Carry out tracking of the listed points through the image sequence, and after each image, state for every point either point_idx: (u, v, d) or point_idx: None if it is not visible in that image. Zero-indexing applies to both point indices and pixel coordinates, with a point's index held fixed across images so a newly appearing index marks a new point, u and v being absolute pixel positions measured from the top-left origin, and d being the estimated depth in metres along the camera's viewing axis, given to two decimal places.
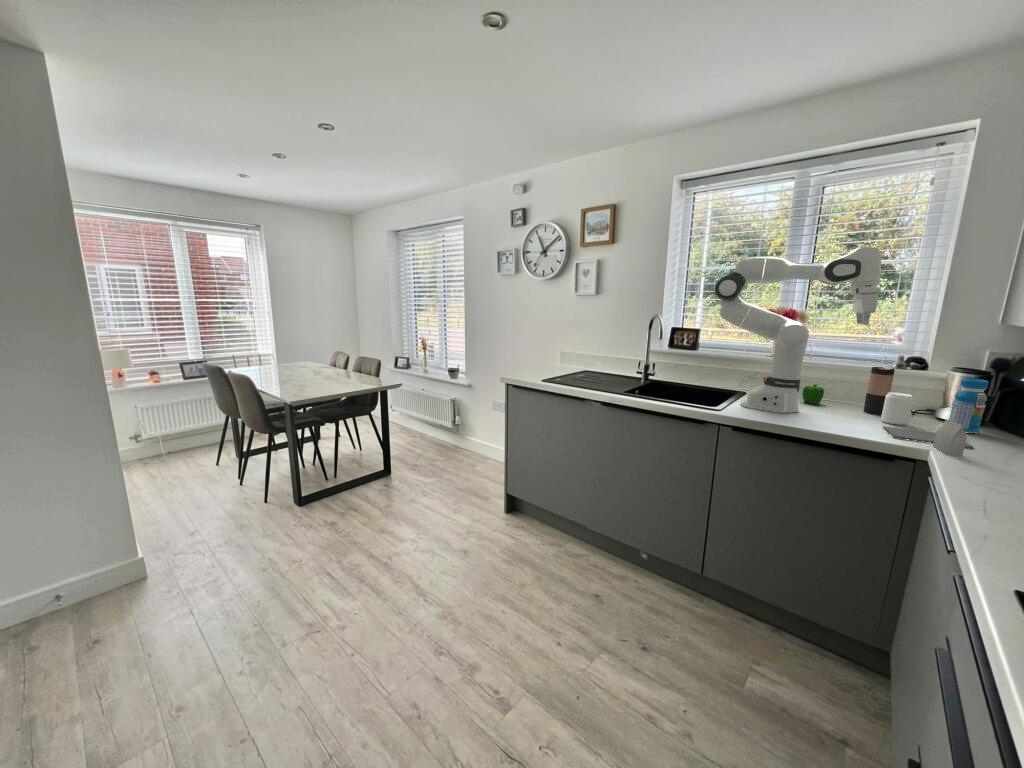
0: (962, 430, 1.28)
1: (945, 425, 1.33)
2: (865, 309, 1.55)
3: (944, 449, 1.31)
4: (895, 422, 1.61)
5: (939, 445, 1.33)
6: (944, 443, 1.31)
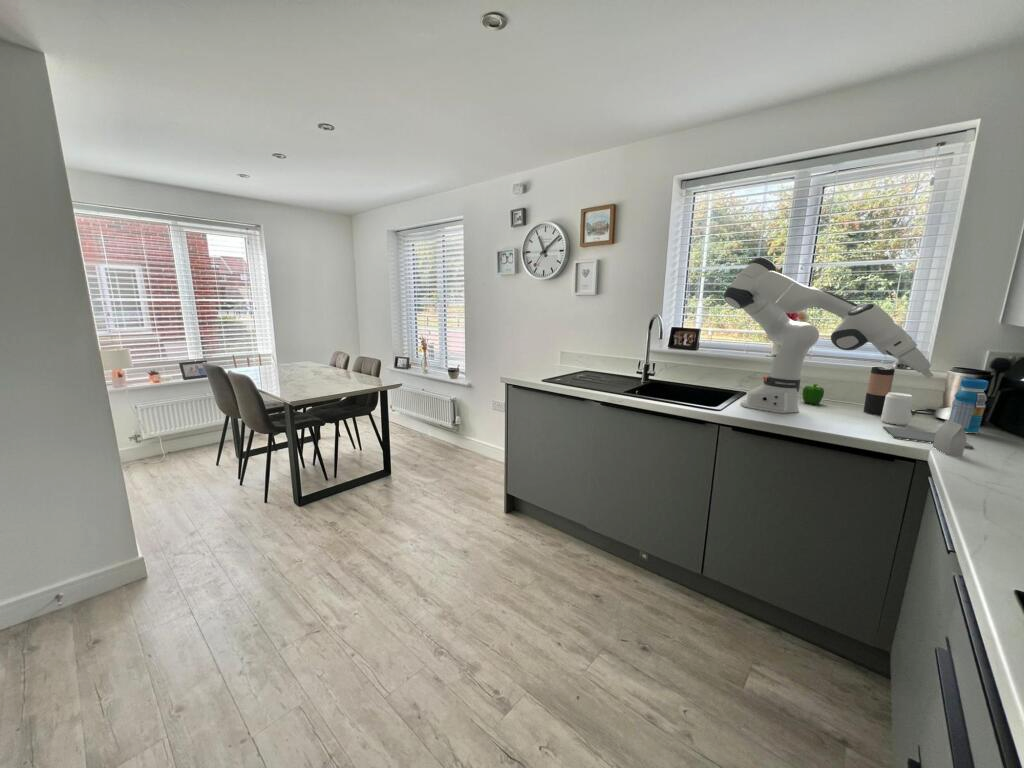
0: (962, 430, 1.28)
1: (945, 425, 1.33)
2: (918, 370, 1.29)
3: (944, 449, 1.31)
4: (895, 422, 1.61)
5: (939, 445, 1.33)
6: (944, 443, 1.31)
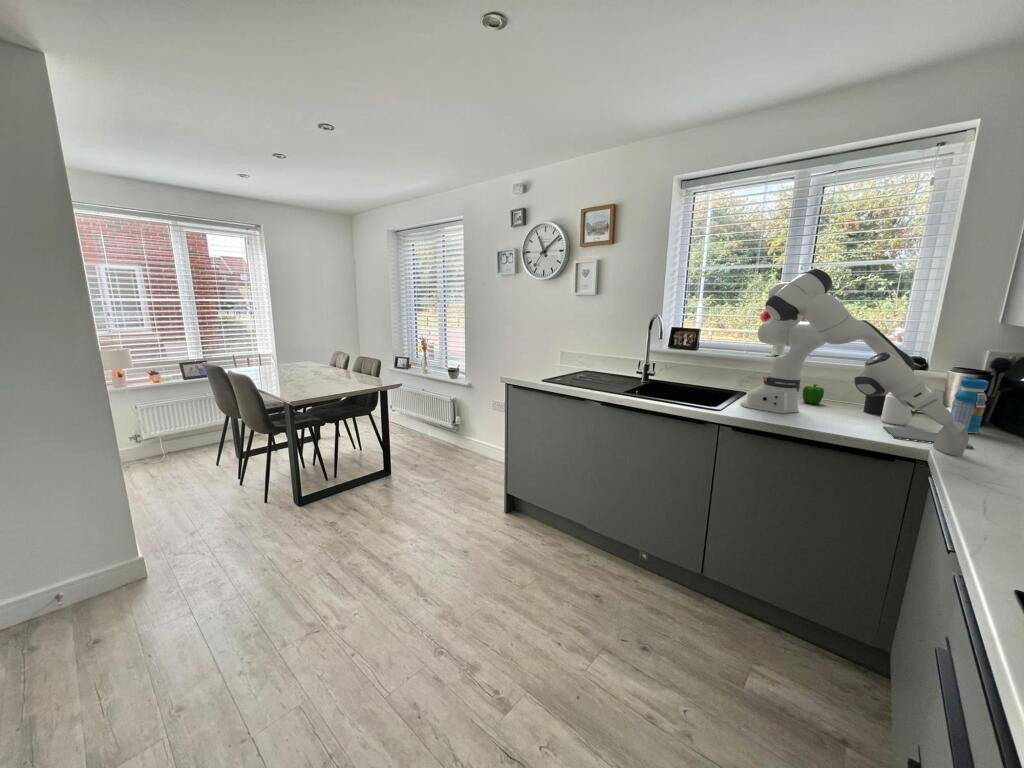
0: (965, 430, 1.27)
1: None
2: (941, 422, 1.24)
3: (945, 448, 1.31)
4: (895, 422, 1.61)
5: (940, 445, 1.33)
6: (945, 442, 1.31)
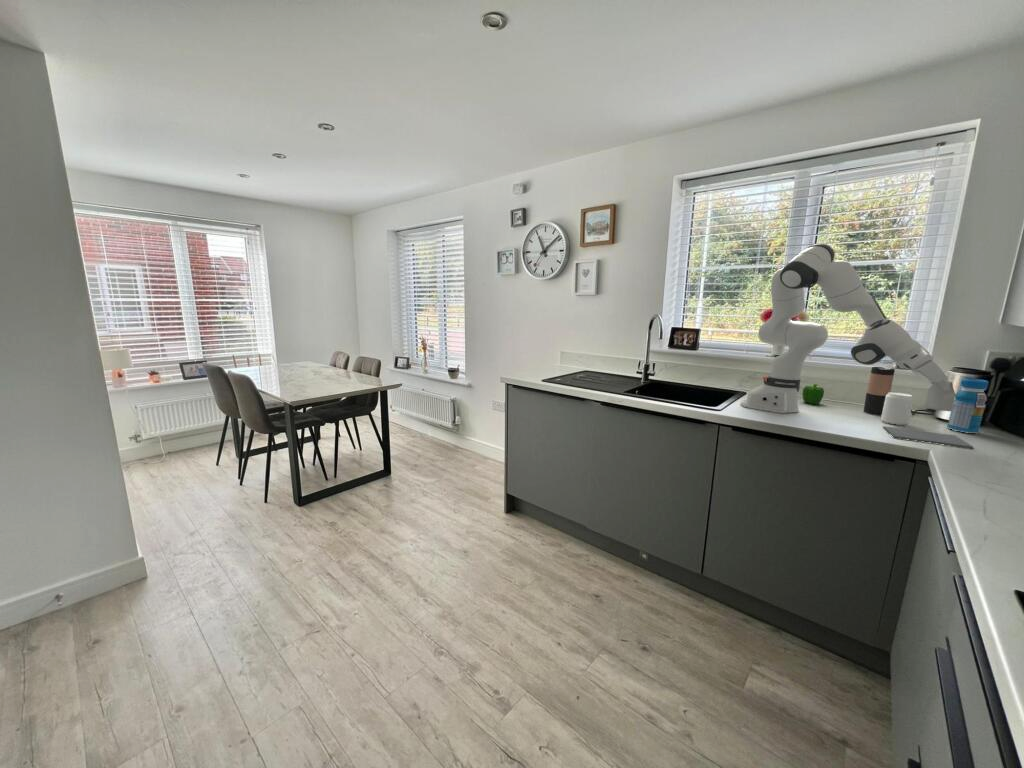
0: (951, 387, 1.38)
1: None
2: (935, 381, 1.35)
3: (935, 404, 1.42)
4: (895, 422, 1.61)
5: (930, 402, 1.44)
6: (934, 399, 1.42)
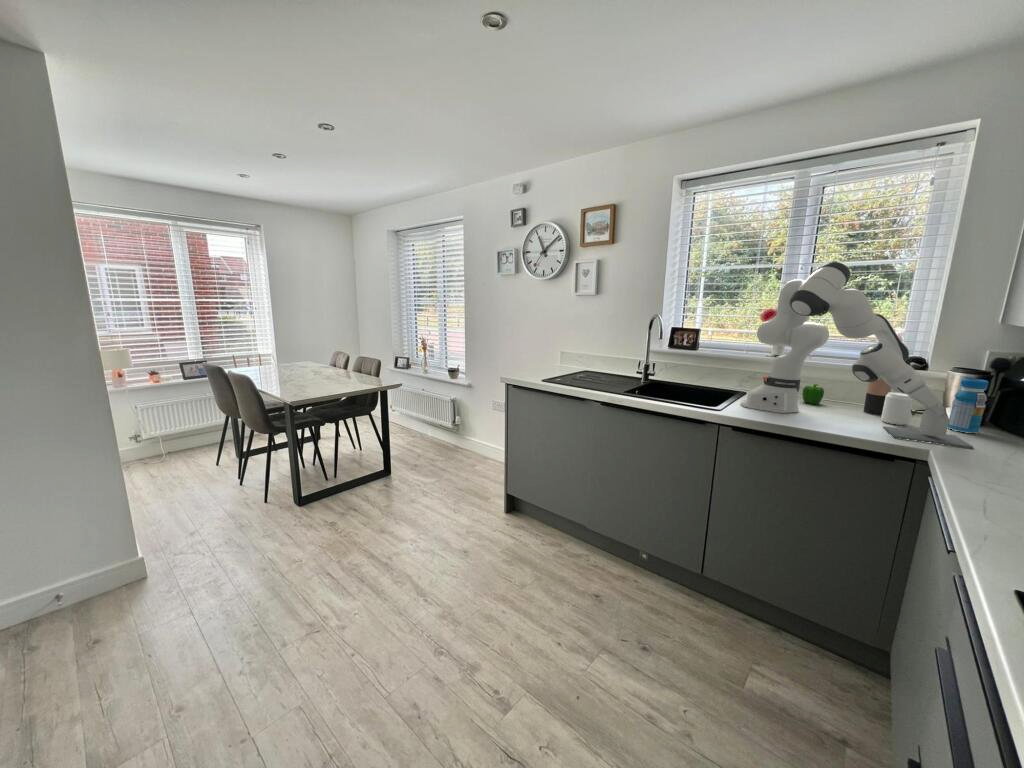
0: (945, 412, 1.40)
1: None
2: (928, 406, 1.37)
3: (929, 429, 1.43)
4: (895, 422, 1.61)
5: (924, 427, 1.46)
6: (929, 424, 1.44)
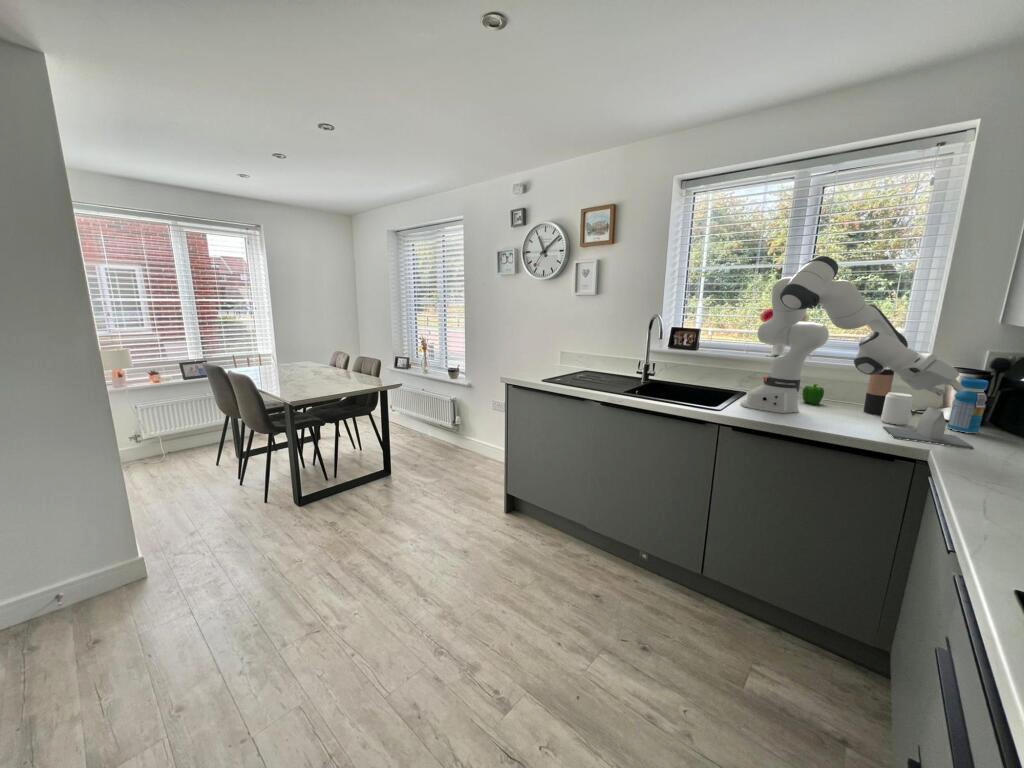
0: (942, 416, 1.41)
1: (927, 412, 1.46)
2: (950, 378, 1.31)
3: (926, 433, 1.44)
4: (895, 422, 1.61)
5: (922, 430, 1.47)
6: (926, 427, 1.45)
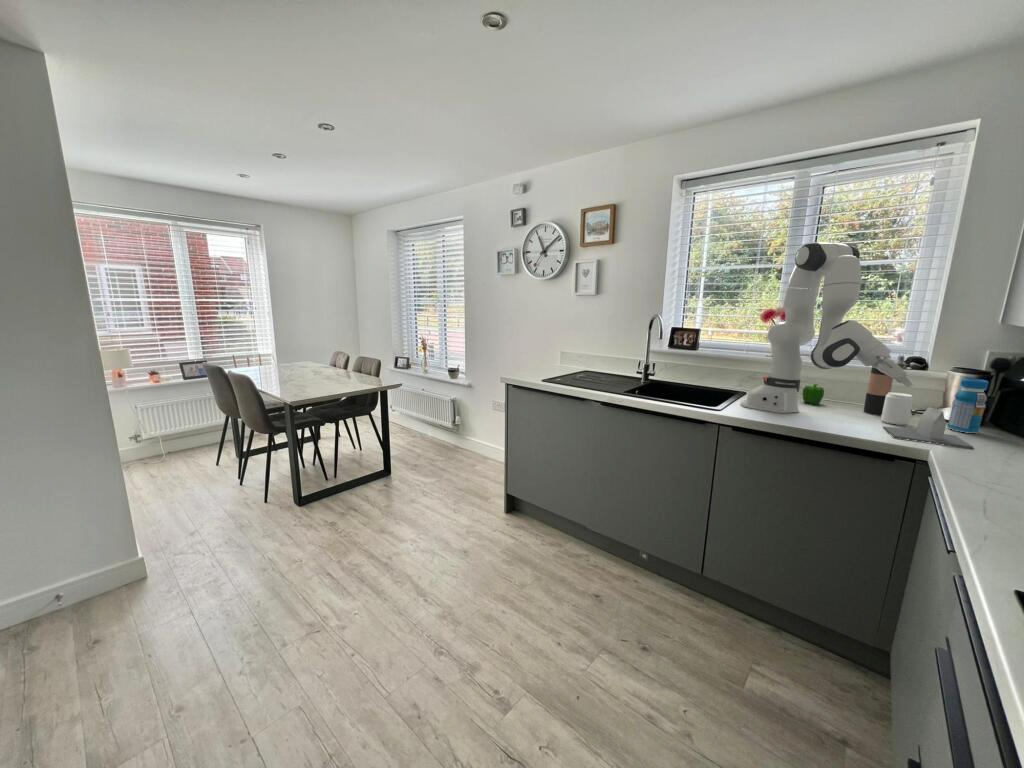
0: (942, 416, 1.41)
1: (927, 412, 1.46)
2: None
3: (926, 433, 1.44)
4: (895, 422, 1.61)
5: (922, 430, 1.47)
6: (926, 427, 1.45)
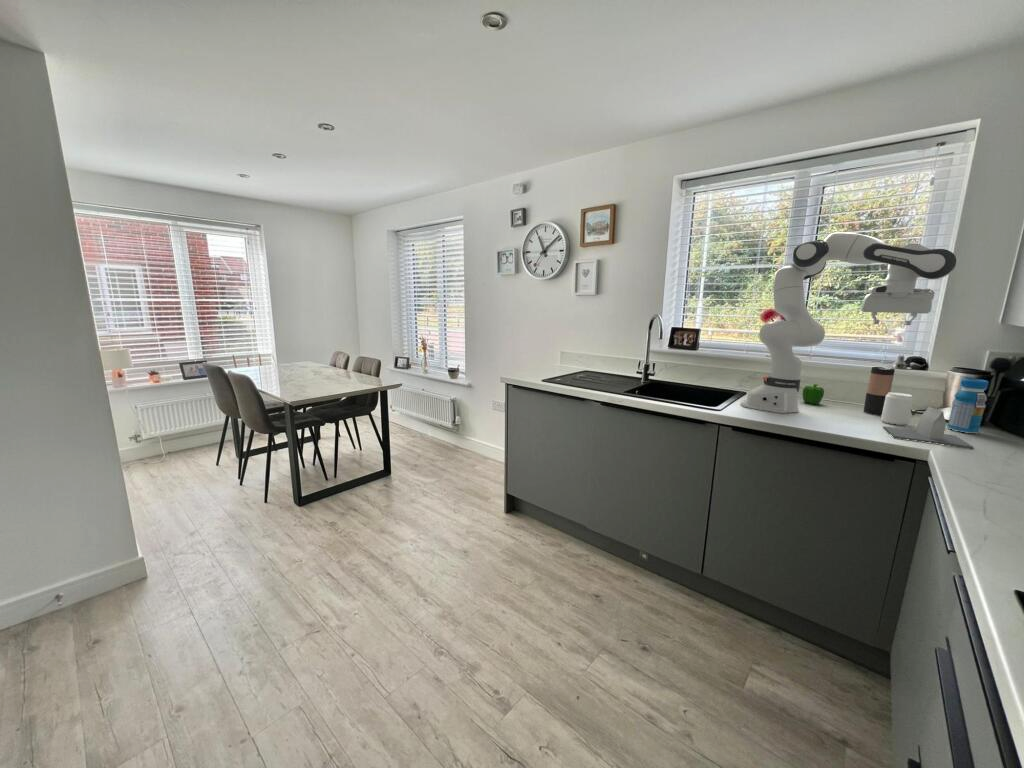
0: (942, 416, 1.41)
1: (927, 412, 1.46)
2: None
3: (926, 433, 1.44)
4: (895, 422, 1.61)
5: (922, 430, 1.47)
6: (926, 427, 1.45)
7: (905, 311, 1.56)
